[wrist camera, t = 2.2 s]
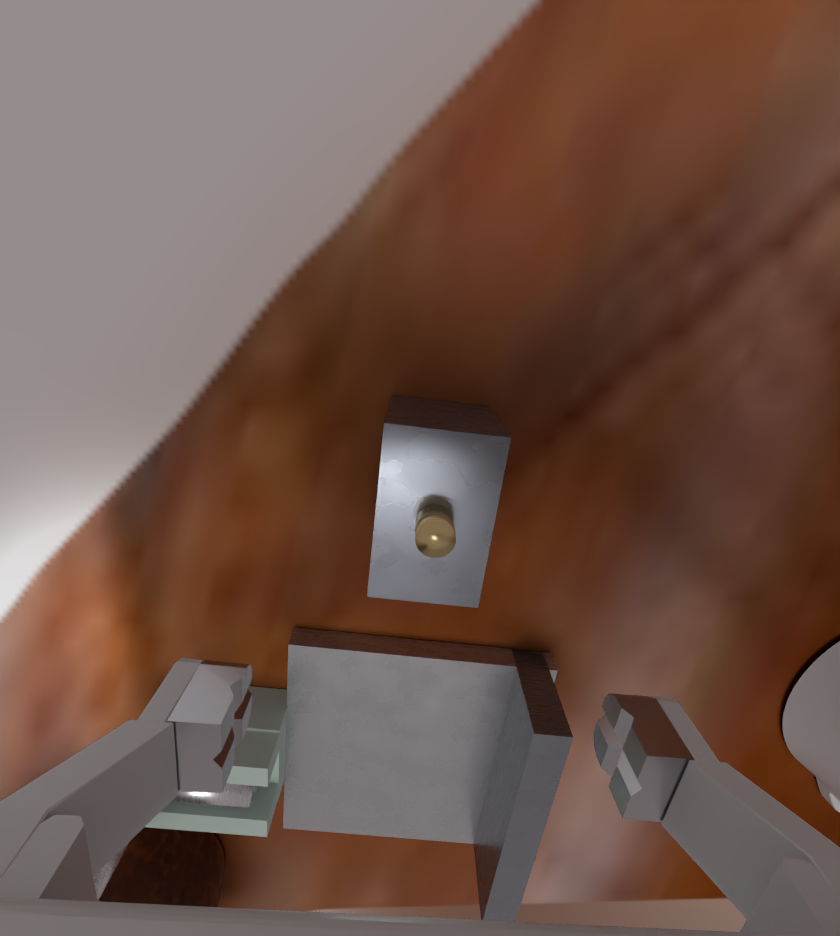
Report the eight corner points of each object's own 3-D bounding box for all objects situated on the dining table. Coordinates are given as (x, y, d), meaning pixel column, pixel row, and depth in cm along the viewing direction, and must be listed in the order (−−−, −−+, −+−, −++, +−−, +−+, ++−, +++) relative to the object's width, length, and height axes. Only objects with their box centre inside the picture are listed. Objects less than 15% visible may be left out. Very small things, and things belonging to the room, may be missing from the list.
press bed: (550, 652, 29) (582, 737, 23) (504, 824, 34) (521, 927, 28) (295, 627, 28) (263, 709, 22) (288, 806, 33) (262, 908, 28)
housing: (489, 405, 24) (519, 449, 16) (465, 542, 26) (482, 630, 19) (392, 394, 23) (380, 433, 16) (378, 533, 26) (363, 618, 19)
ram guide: (292, 690, 30) (267, 766, 25) (290, 756, 32) (267, 839, 27) (168, 678, 29) (117, 753, 25) (173, 746, 31) (128, 828, 27)
